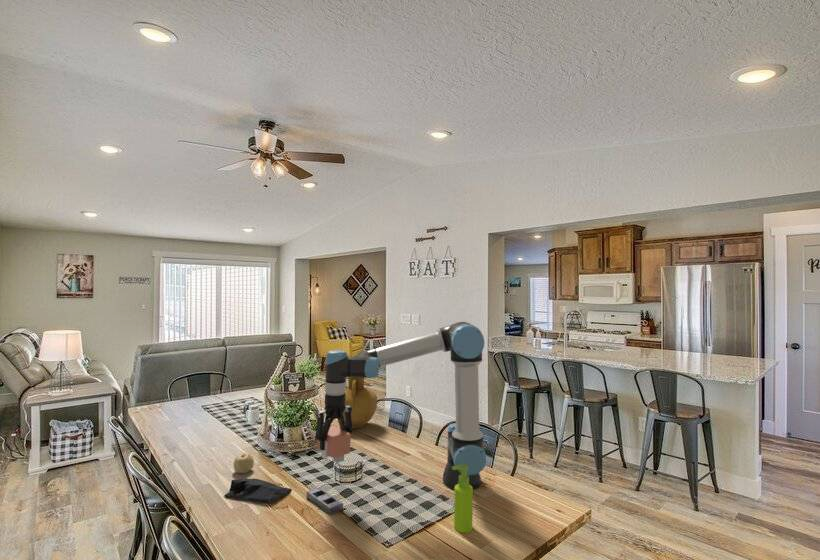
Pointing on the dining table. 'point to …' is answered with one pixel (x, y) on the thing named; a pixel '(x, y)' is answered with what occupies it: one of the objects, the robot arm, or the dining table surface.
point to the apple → (243, 463)
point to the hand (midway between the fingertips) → (333, 455)
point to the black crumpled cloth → (256, 490)
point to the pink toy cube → (337, 443)
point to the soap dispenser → (463, 501)
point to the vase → (360, 402)
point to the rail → (325, 500)
